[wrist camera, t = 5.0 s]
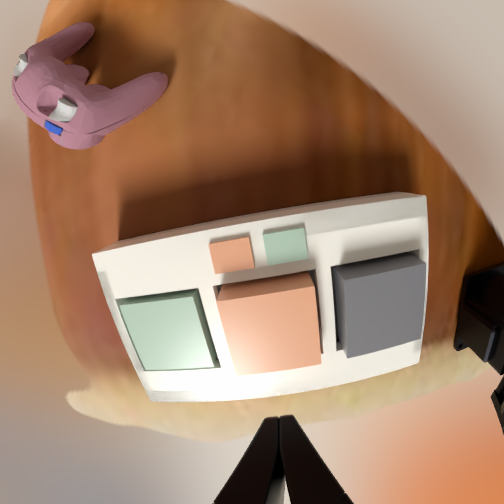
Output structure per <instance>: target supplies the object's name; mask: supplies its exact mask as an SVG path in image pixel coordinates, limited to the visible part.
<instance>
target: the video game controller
mask: <svg viewBox="0 0 504 504" xmlns="http://www.w3.org/2000/svg"><path fill="white" fill-rule="evenodd" d="M93 34H94V26H93V25H92V24H91V23H88V22H82V23H77V24H73V25H71V26H69V27H67V28H65V29H63V30H61V31H60V32H58V33H56V34H54V35H53V36H51V37H49V38H47V39H45V40H43V41H41V42H39V43H37V44H35V45H32V46H31V47H29V48H28V49H27V51H26V52H25V53H24V54H21V55H20V56H19V58H20V61H19V62H18V64H17V65H16V67H15V69H14V75H13V80H12V90H13V95H14V98H15V100H16V102H17V104H18V105H19V107H20V108H21V109H22V110H23V112H24V113H25V114H26V115H27V116H28V117H29V118H31V119H32V120H33V121H34V122H35V123H37V124H39V125H40V126H42V127H43V128H45V129H46V130H48V132H49V135H50V137H51V139H52V140H53V141H54V142H56V143H57V144H59V145H61V146H63V147H66V148H70V149H86V148H90V147H93V146H95V145H97V144H99V143H100V142H101V141H102V139H103V138H104V137H105V135H106V134H108V133H111V132H112V131H114V130H115V129H117V128H119V127H120V126H122V125H124V124H125V123H127V122H129V121H130V120H132V119H134V118H135V117H136V116H138V115H139V114H141V113H142V112H144V111H145V110H147V109H148V108H149V107H150V106H152V105H153V104H154V103H155V102H156V101H157V100H158V99H159V98H160V97H161V96H162V94H163V93H164V92H165V91H166V89H167V85H168V77H167V75H165V74H164V73H162V72H153V73H147V74H144V75H142V76H140V77H137V78H135V79H133V80H131V81H129V82H127V83H125V84H123V85H121V86H118V87H116V88H113V89H110V88H108V87H105V86H103V85H98V84H90V85H85V83H86V81H87V78H88V76H89V71H88V70H87V69H86V68H84V67H82V66H79V65H73V64H64V63H63V62H64V61H65V60H66V59H68V58H69V57H70V56H72V55H73V54H74V53H76V52H77V51H78V50H79V49H81V48H82V47H83V46H84V45H85V44H86V43H87V42H88V41H89V40H90V38H91V37H92V36H93Z"/></svg>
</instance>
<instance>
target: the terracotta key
mask: <svg viewBox="0 0 504 504" xmlns="http://www.w3.org/2000/svg"><path fill="white" fill-rule="evenodd" d="M216 303H217V307H218V311H219V315H220V318H221V322H222V326H223V330H224V333H225V337H226V341H227V344H228V348H229V352H230V355H231V359H232V362H233V366H234V369H235V373H236V376H243V375H252V374H261V373H268V372H276V371H283V370H290V369H296V368H302V367H308V366H313V365H319V364H322V363H321V350H320V337H319V326H318V315H317V305H316V295H315V286H314V284H313V282H312V279H311V277H310V275H309V273H308V271H301V272H296V273H290V274H284V275H278V276H272V277H266V278H260V279H253V280H247V281H241V282H234V283H228V284H222V287H221V290H220V292H219V295H218V298H217V301H216Z"/></svg>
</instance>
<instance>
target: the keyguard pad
mask: <svg viewBox="0 0 504 504" xmlns="http://www.w3.org/2000/svg"><path fill="white" fill-rule="evenodd" d="M403 252H409V253H410V254H412V255H414V256H416V257H417V258H419V259H421V260H422V261H424V262H426V287H425V303H424V314H423V324H422V332H421V339H418V340H415V341H412V342H408V343H405V344H402V345H398V346H395V347H391V348H388V349H384V350H380V351H377V352H373V353H369V354H365V355H361V356H356V357H352V358H348V359H347V357H346V355H345V352H344V350H343V348H342V345H341V343H340V341H339V338H338V329H337V312H336V297H335V285H334V273H333V266H335V265H341V264H346V263H351V262H357V261H362V260H367V259H372V258H378V257H383V256H388V255H393V254H398V253H403ZM92 256H93V260H94V263H95V267H96V270H97V273H98V276H99V279H100V283H101V286H102V289H103V292H104V294H105V297H106V300H107V303H108V306H109V309H110V311H111V314H112V317H113V319H114V322H115V324H116V327H117V329H118V332H119V334H120V337H121V339H122V341H123V344H124V346H125V348H126V351H127V353H128V355H129V357H130V360H131V362H132V364H133V366H134V368H135V370H136V372H137V374H138V376H139V378H140V380H141V382H142V384H143V386H144V388H145V390H146V392H147V394H148V396H149V398H150V400H151V401H153V402H208V401H228V400H241V399H253V398H262V397H271V396H279V395H286V394H293V393H299V392H305V391H311V390H316V389H322V388H327V387H332V386H337V385H341V384H346V383H350V382H354V381H358V380H362V379H366V378H370V377H374V376H378V375H381V374H385V373H388V372H392V371H395V370H398V369H401V368H405V367H408V366H411V365H414V364H417V363H419V358H420V352H421V345H422V338H423V331H424V322H425V313H426V301H427V286H428V217H427V202H426V196H425V195H418V194H412V193H405V192H392V193H384V194H376V195H369V196H361V197H354V198H347V199H340V200H333V201H326V202H320V203H313V204H307V205H301V206H294V207H288V208H282V209H276V210H270V211H265V212H259V213H253V214H248V215H242V216H237V217H231V218H226V219H221V220H215V221H210V222H205V223H200V224H195V225H190V226H185V227H180V228H175V229H170V230H166V231H161V232H156V233H152V234H147V235H143V236H138V237H134V238H129V239H125V240H120V241H117V242H115V243H113V244H111V245H109V246H107V247H105V248H103V249H101V250H99V251H97V252H95V253H93V254H92ZM301 271H308V273H309V275H310V277H311V279H312V282H313V284H314V286H315V295H316V305H317V315H318V326H319V337H320V350H321V363H322V364H319V365H313V366H308V367H302V368H296V369H290V370H283V371H276V372H268V373H261V374H252V375H243V376H236V373H235V369H234V366H233V362H232V359H231V355H230V352H229V348H228V344H227V341H226V337H225V333H224V330H223V326H222V322H221V318H220V315H219V311H218V307H217V303H216V301H217V298H218V295H219V292H220V290H221V287H222V284H228V283H234V282H241V281H247V280H253V279H260V278H266V277H272V276H278V275H284V274H290V273H296V272H301ZM194 288H198V289H199V292H200V296H201V300H202V304H203V307H204V311H205V314H206V318H207V321H208V325H209V328H210V332H211V335H212V339H213V342H214V345H215V349H216V352H217V357H216V361H215V365H214V367H205V368H189V369H164V370H145V368H144V366H143V363H142V361H141V359H140V357H139V354H138V352H137V350H136V347H135V345H134V343H133V340H132V338H131V335H130V333H129V330H128V328H127V325H126V322H125V320H124V317H123V315H122V312H121V309H120V306H119V305H120V304H121V303H122V302H123V301H124V300H125V299H127V298H128V297H135V296H143V295H151V294H158V293H165V292H173V291H180V290H187V289H194Z"/></svg>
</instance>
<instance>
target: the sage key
mask: <svg viewBox="0 0 504 504" xmlns="http://www.w3.org/2000/svg"><path fill="white" fill-rule="evenodd" d="M119 306H120V309H121V312H122V315H123V317H124V320H125V322H126V325H127V328H128V330H129V333H130V335H131V338H132V340H133V343H134V345H135V347H136V350H137V352H138V354H139V357H140V359H141V361H142V363H143V366H144V368H145V370H164V369H189V368H205V367H214V365H215V361H216V357H217V352H216V349H215V345H214V342H213V339H212V335H211V332H210V328H209V325H208V321H207V318H206V314H205V311H204V307H203V304H202V300H201V296H200V292H199V289H198V288H194V289H187V290H180V291H173V292H165V293H158V294H151V295H143V296H135V297H128V298H127V299H125V300H124V301H123V302H122V303H121V304H120V305H119Z"/></svg>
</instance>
